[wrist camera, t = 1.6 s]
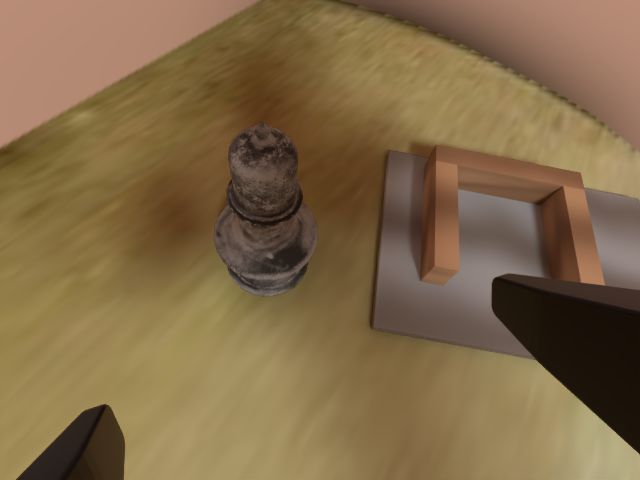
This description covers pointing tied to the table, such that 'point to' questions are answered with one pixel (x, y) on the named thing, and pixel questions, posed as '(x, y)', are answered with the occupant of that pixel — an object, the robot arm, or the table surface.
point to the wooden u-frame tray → (490, 241)
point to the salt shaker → (265, 214)
